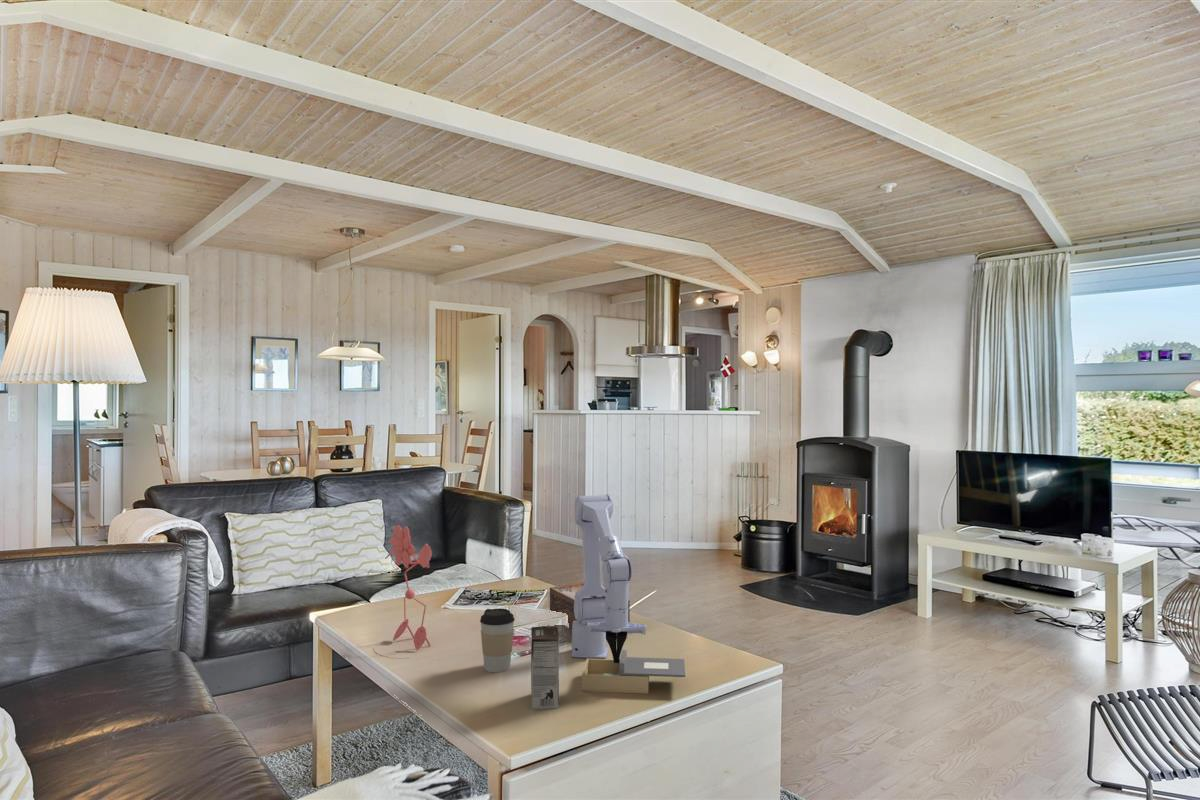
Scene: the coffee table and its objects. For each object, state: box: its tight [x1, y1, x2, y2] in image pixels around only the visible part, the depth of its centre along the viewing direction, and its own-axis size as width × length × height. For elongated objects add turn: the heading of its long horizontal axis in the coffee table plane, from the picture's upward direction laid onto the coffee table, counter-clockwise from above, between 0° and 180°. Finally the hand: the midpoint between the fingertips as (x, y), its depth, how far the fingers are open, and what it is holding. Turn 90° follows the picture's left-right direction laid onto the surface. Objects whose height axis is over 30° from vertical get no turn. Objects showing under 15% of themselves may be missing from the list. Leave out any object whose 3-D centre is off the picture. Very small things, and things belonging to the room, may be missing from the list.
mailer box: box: [581, 658, 650, 694], centre depth 182 cm, size 16×11×4 cm
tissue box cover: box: [549, 582, 631, 631], centre depth 230 cm, size 26×14×10 cm, turn 30°
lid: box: [618, 649, 686, 678], centre depth 181 cm, size 16×11×2 cm
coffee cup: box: [479, 608, 516, 673], centre depth 193 cm, size 9×9×15 cm
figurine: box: [384, 524, 432, 651], centre depth 208 cm, size 15×26×35 cm, turn 43°
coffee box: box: [530, 626, 560, 710], centre depth 171 cm, size 9×6×16 cm
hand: (616, 661), depth 182 cm, fingers closed
